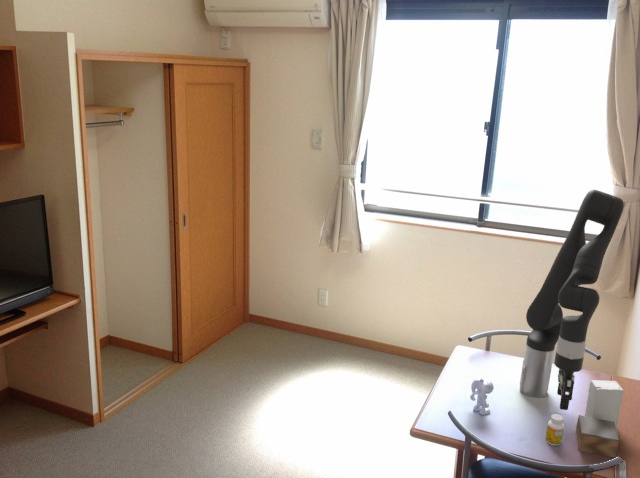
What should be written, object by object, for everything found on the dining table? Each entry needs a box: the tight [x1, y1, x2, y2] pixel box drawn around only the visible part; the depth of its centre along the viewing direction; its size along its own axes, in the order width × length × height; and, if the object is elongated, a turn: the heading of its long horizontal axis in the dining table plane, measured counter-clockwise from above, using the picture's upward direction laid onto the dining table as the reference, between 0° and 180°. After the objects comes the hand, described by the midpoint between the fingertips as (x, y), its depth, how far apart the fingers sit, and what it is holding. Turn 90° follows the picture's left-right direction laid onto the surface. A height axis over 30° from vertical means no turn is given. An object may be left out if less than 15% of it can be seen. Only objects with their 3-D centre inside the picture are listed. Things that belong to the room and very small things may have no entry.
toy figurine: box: [470, 378, 494, 416], centre depth 193 cm, size 7×6×12 cm
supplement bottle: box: [544, 413, 565, 447], centre depth 179 cm, size 5×5×8 cm
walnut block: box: [575, 414, 620, 459], centre depth 178 cm, size 10×10×6 cm
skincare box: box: [584, 379, 624, 430], centre depth 187 cm, size 8×6×15 cm
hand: (562, 401), depth 176 cm, fingers open, 8 cm apart
